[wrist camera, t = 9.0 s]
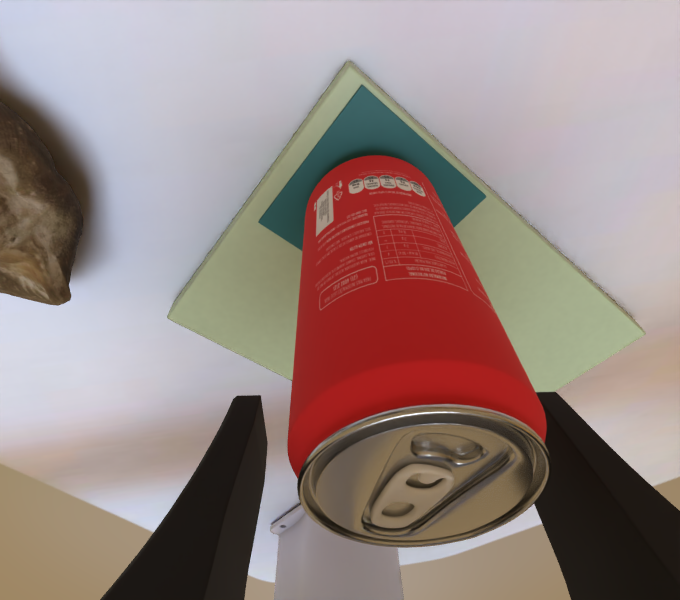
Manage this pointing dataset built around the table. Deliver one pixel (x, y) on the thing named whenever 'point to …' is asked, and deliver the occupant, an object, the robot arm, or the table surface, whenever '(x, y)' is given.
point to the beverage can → (404, 372)
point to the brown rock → (34, 217)
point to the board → (464, 213)
